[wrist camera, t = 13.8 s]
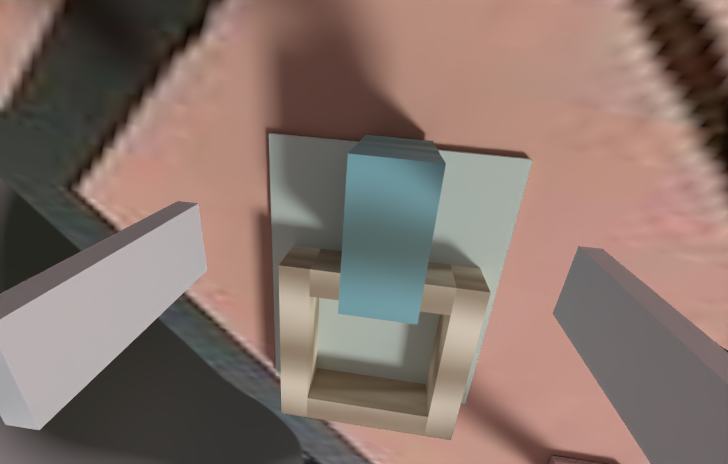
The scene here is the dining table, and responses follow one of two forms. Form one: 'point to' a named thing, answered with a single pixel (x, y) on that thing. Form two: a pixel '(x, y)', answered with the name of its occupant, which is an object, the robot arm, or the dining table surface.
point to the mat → (449, 246)
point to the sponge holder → (382, 296)
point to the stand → (568, 461)
